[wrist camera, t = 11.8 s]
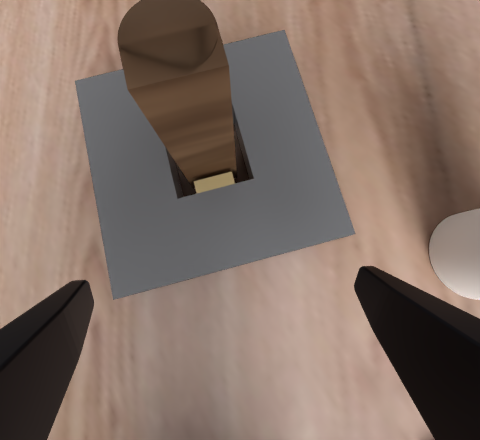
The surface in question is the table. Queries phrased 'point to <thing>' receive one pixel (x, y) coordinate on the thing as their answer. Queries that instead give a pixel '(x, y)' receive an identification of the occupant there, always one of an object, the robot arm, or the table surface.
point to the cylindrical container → (458, 253)
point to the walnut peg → (181, 82)
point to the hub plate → (213, 188)
